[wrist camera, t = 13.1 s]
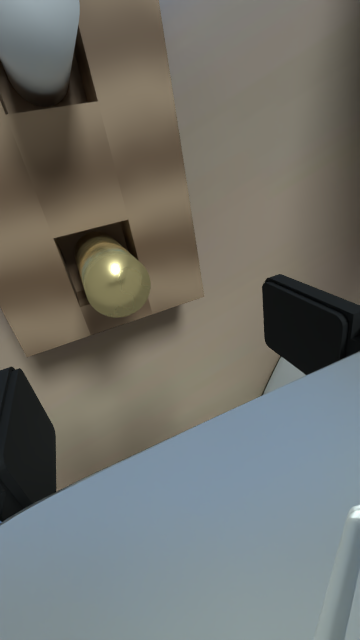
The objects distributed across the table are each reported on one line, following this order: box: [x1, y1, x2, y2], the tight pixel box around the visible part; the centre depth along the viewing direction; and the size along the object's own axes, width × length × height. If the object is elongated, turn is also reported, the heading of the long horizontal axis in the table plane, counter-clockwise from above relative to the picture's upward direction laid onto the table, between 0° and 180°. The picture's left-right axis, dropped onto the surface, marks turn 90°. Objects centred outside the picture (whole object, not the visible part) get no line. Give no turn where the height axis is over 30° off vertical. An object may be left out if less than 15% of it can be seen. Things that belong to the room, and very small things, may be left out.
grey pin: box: [0, 0, 80, 107], centre depth 16 cm, size 4×4×10 cm
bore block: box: [0, 0, 204, 357], centre depth 22 cm, size 24×16×6 cm, turn 11°
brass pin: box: [74, 231, 151, 318], centre depth 22 cm, size 4×4×10 cm
